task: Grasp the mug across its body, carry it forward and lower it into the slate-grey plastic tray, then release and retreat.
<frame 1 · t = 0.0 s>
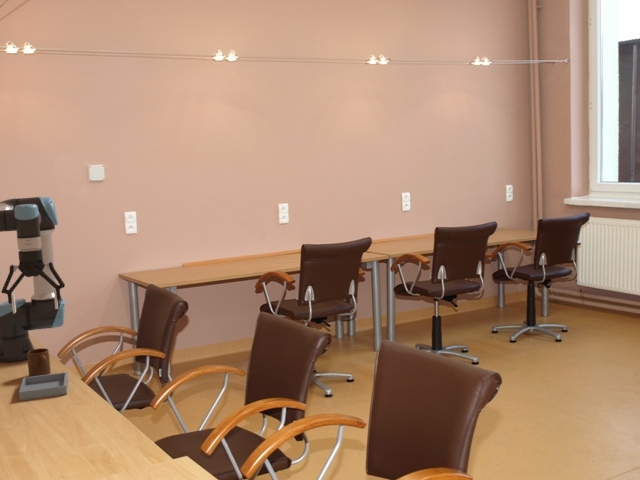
hand: (35, 310, 248), 28 cm above the table, fingers open, 13 cm apart
mug: (41, 377, 265), on the table
tray: (44, 390, 250), on the table
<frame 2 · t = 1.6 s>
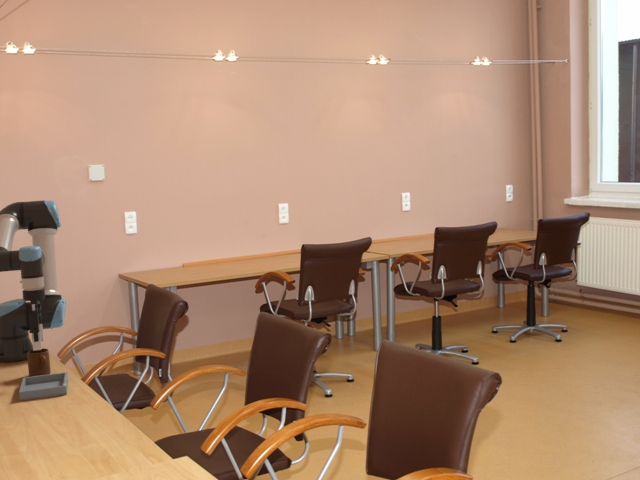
hand: (38, 345, 263), 12 cm above the table, fingers open, 13 cm apart
nothing on the table moved.
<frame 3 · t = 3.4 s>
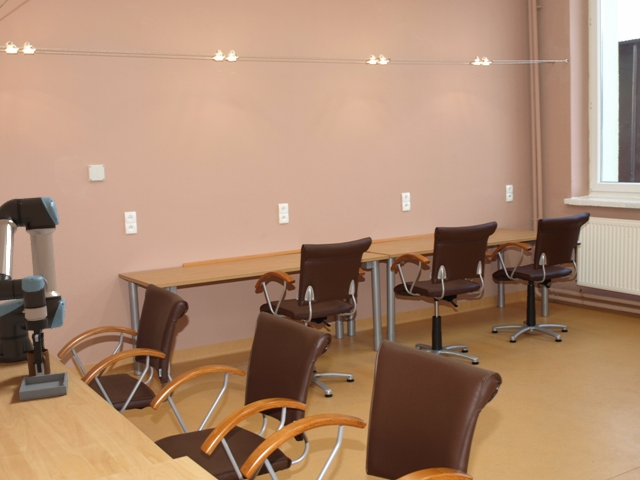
hand: (41, 376, 265), 0 cm above the table, fingers closed on mug, 11 cm apart
mug: (41, 377, 265), on the table, touching gripper
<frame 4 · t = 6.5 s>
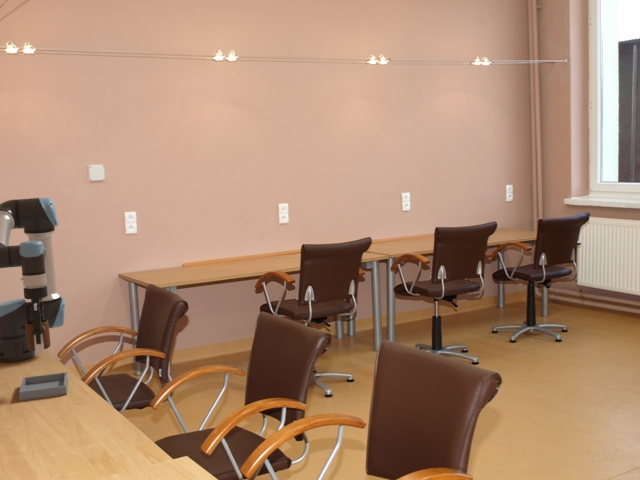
hand: (41, 348, 248), 15 cm above the table, fingers closed on mug, 11 cm apart
mug: (41, 350, 247), point 14 cm above the table, touching gripper
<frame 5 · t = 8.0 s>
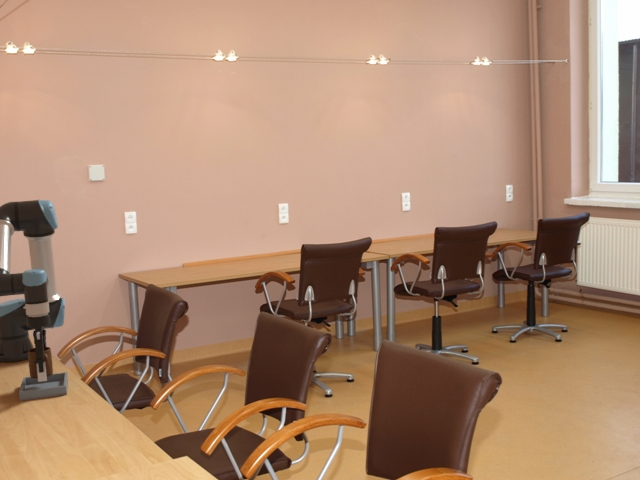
hand: (43, 376, 249), 5 cm above the table, fingers closed on mug, 11 cm apart
mug: (43, 377, 249), point 5 cm above the table, touching gripper
when the fingers open (3 cm above the table, at t = 9.5 s): mug drops 2 cm, resting on tray.
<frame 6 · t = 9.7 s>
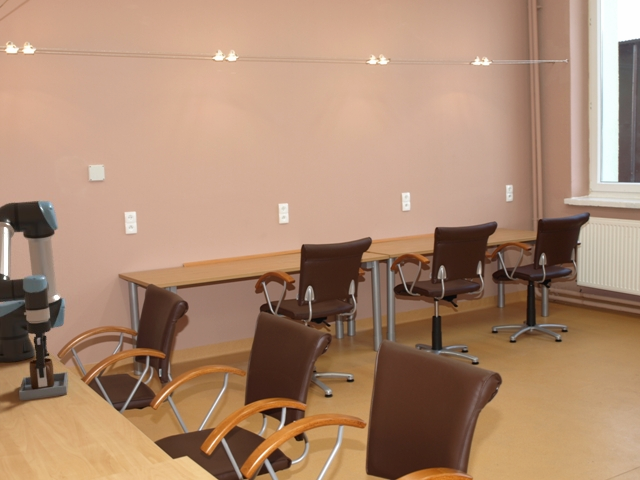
hand: (44, 380, 249), 3 cm above the table, fingers open, 12 cm apart
mug: (45, 389, 249), resting on tray, touching gripper
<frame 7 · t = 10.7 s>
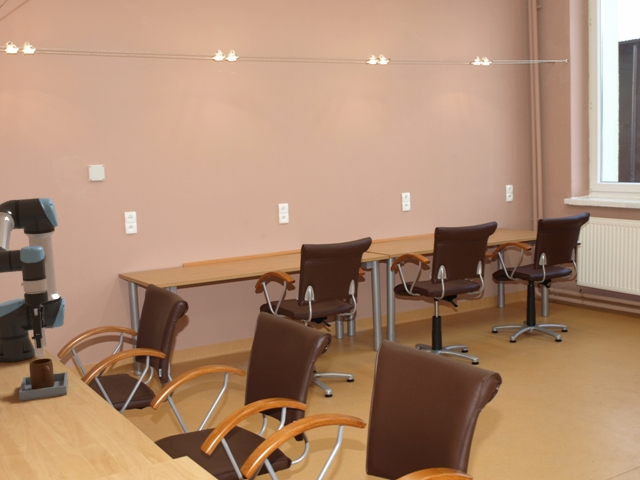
hand: (41, 351, 248), 14 cm above the table, fingers open, 13 cm apart
mug: (45, 389, 249), resting on tray
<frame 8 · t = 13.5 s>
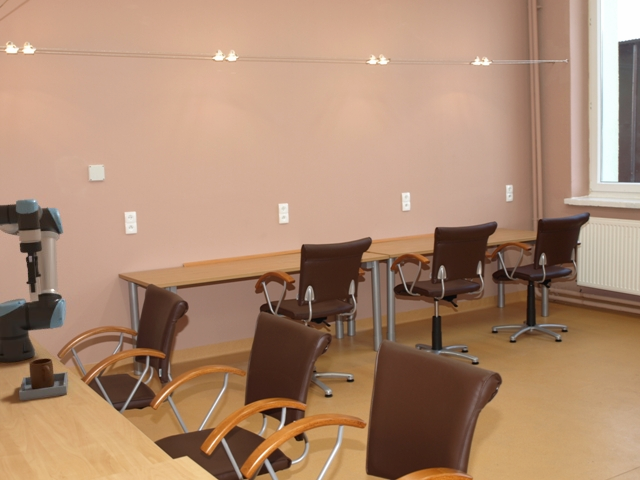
hand: (35, 297, 267), 29 cm above the table, fingers open, 13 cm apart
nothing on the table moved.
at the end: mug inside the target area on the tray (0.7 cm from its centre), point 0.4 cm above the tray's base; mug tilted 0°; the gripper is holding nothing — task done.
